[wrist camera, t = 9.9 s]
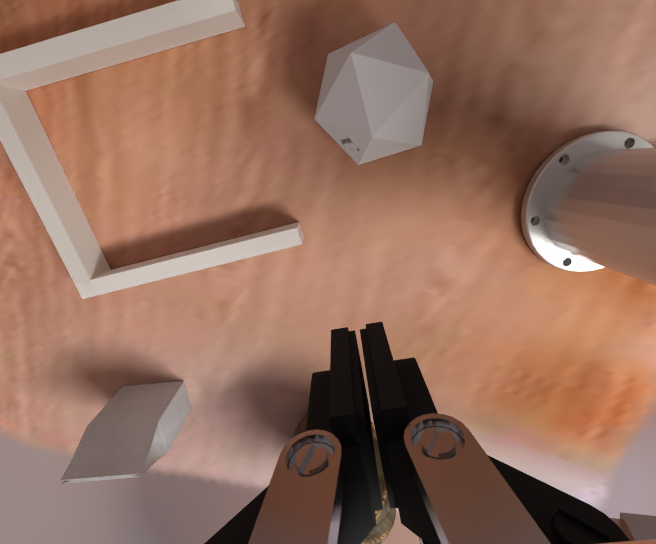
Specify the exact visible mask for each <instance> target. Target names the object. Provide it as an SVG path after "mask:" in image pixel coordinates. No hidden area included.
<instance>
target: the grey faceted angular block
mask: <svg viewBox="0 0 656 544" xmlns="http://www.w3.org/2000/svg"><path fill="white" fill-rule="evenodd" d="M190 410H191V405H190V401H189V397H188V393H187V390H186V386H185V382H184V381H176V382H165V383H153V384H142V385H130V386H123V387H122V388H121V389H120V390H119V391H118V392H117V394H116V395H115V396H114V397H113V398H112V399H111V400H110V401H109V402H108V404H107V405H106V406H105V407H104V408H103V409H102V410H101V411H100V412H99V414H98V415H97V416H96V417H95V418H94V419H93V420H92V421H91V422H90V424H89V425H88V426H87V427H86V430H85V432H84V434H83V436H82V438H81V441H80V443H79V445H78V447H77V449H76V452H75V454H74V456H73V458H72V460H71V462H70V464H69V466H68V468H67V470H66V472H65V473H64V475H63V476H62V478H61V480H65V481H64V482H63V483H72V482H83V481H96V480H107V479H118V478H119V479H120V478H131V477H142V476H143V475H144V474H145V472H146V471H147V470H148V469H149V468H150V467H151V466H152V465H153V464H154V463H155V462H156V461H157V460H159V459H160V458H161V457H162V456H163V455H165V454H166V453H167V452H168V451H169V449H170V448H171V446H172V444H173V442H174V440H175V438H176V436H177V434H178V433H179V431H180V429H181V427H182V425H183V423H184V421H185V420H186V418H187V416H188V414H189V412H190Z"/></svg>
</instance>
